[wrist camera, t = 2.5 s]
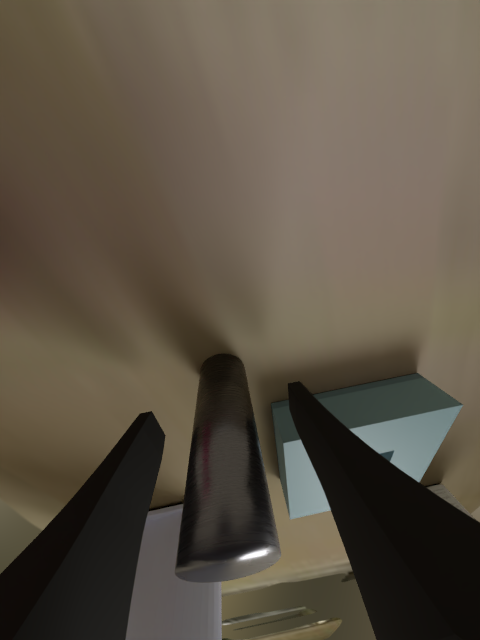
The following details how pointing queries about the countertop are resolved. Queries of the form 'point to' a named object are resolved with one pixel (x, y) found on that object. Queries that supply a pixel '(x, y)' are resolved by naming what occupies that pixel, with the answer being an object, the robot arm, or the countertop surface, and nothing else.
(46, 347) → the countertop surface
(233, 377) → the metal peg
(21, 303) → the countertop surface
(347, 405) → the socket block
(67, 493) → the countertop surface
